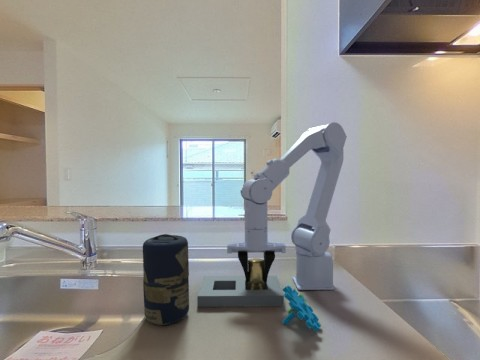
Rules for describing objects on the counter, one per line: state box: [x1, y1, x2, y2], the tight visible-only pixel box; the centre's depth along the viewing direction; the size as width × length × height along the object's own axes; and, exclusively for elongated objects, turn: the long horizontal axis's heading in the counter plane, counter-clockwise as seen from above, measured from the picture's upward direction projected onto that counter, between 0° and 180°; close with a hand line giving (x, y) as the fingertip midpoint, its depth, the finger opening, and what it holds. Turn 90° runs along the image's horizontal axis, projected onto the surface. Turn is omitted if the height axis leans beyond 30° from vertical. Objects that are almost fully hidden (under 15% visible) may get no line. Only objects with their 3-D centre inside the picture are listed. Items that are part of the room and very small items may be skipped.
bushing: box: [248, 257, 264, 290], centre depth 71 cm, size 4×4×7 cm
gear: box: [282, 285, 322, 332], centre depth 58 cm, size 11×6×10 cm
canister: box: [142, 233, 190, 326], centre depth 60 cm, size 10×10×18 cm
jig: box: [196, 275, 285, 308], centre depth 71 cm, size 20×12×2 cm, turn 90°
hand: (256, 280), depth 71 cm, fingers closed on bushing, 4 cm apart
